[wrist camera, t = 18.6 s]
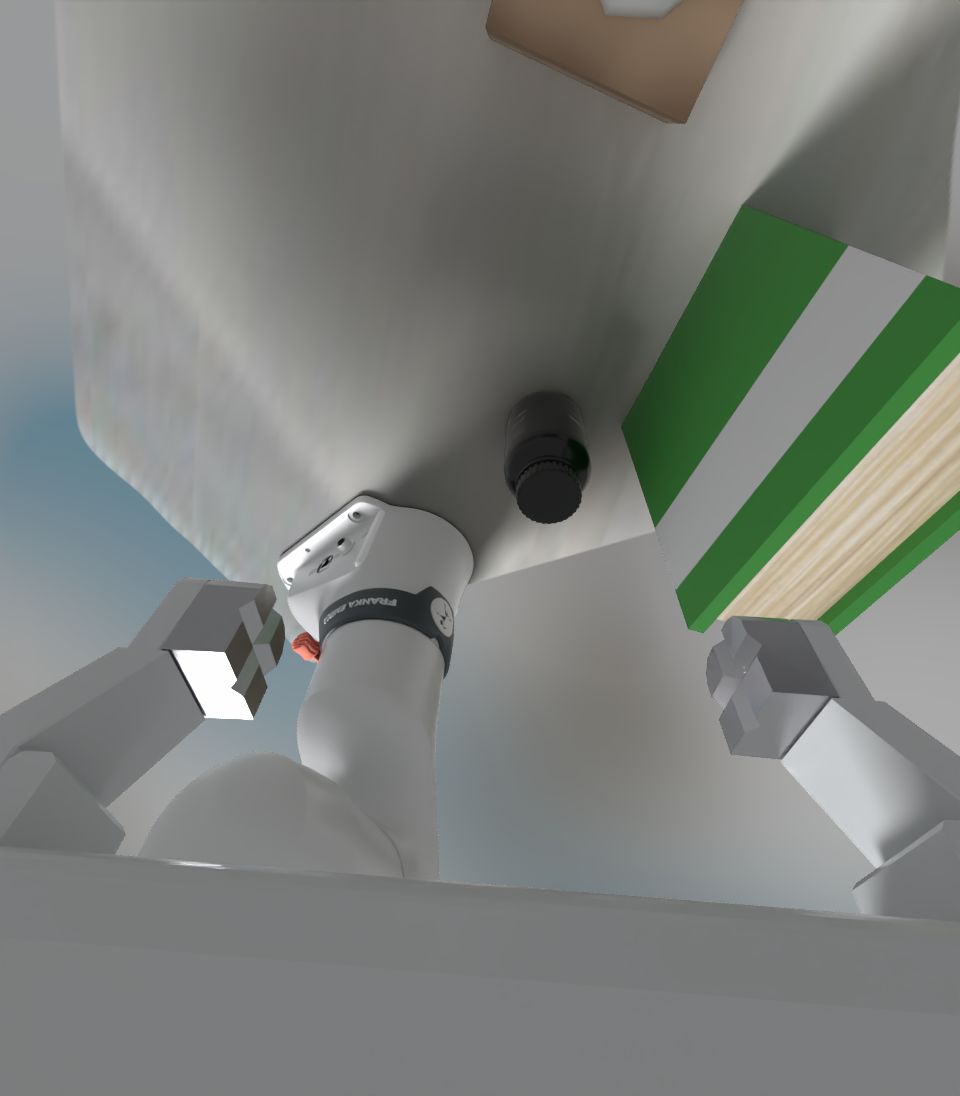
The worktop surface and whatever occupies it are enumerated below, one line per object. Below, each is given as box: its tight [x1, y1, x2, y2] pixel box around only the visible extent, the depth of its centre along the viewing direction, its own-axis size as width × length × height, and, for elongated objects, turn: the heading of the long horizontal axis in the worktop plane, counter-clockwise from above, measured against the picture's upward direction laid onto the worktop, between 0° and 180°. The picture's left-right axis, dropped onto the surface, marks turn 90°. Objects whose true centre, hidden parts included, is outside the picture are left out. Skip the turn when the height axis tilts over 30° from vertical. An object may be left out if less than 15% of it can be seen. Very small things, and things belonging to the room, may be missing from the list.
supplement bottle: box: [504, 392, 591, 524], centre depth 42 cm, size 7×7×12 cm
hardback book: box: [622, 204, 960, 635], centre depth 33 cm, size 18×7×24 cm, turn 162°
